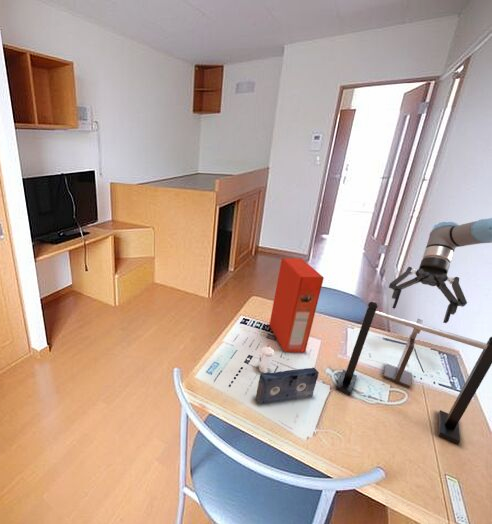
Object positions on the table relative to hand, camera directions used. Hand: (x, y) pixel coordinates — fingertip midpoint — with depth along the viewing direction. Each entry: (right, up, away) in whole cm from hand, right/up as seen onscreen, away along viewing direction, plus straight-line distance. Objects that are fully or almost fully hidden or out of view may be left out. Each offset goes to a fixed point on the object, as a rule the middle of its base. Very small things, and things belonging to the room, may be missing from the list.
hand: (418, 314), depth 104 cm
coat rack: (-18, -26, -10) cm, 33 cm away
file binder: (-37, -14, +20) cm, 44 cm away
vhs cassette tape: (-50, -25, -8) cm, 57 cm away
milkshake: (-53, -20, +3) cm, 56 cm away
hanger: (-7, -22, +1) cm, 23 cm away
